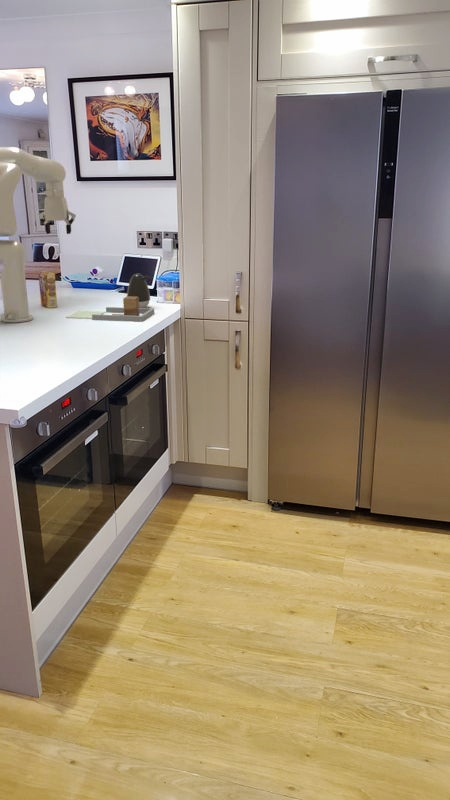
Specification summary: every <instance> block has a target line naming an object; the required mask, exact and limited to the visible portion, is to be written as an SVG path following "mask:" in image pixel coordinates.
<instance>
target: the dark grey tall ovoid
mask: <svg viewBox="0 0 450 800" xmlns="http://www.w3.org/2000/svg"><path fill="white" fill-rule="evenodd" d="M149 278H150V276H149V275H146V276H144V275H142V274H141V273H139V272H138V273H135V274H133V275H132V276H131V278H130V280H129V284H128V285H127V291H126V297H127V296H131V297H139V308H147V307H148V306H149V305H150V304H149V303H150V300H151V295H150V294H151V293H150V290H149V286H148V283H147V281H146V280H148V279H149Z"/></svg>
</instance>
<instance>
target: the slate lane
mask: <svg viewBox="0 0 450 800" xmlns="http://www.w3.org/2000/svg"><path fill="white" fill-rule="evenodd" d="M105 312H106V313H114V314H120V313H121V314H124V307H119V306H118V307H114V306H105ZM139 314H141V315H139V316H128V315H112V314H102V315H99V314H93V315H92V319H91V320H92V321H93V320H94V321H116V322H117V321H118V322H121V321H122V322H144V321H145V320H147V319H148V318H150V317H152V315H154V314H155V308H147V307H145V308H139Z"/></svg>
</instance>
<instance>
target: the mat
mask: <svg viewBox="0 0 450 800" xmlns="http://www.w3.org/2000/svg"><path fill="white" fill-rule="evenodd" d="M106 313H107V312H106V311H92V310H78V311H77V312H74V313H72V314H69V315H68V316H66V317H65V318H66V319H86V320H92V315H93V314H99V315H105V314H106Z"/></svg>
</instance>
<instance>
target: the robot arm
mask: <svg viewBox="0 0 450 800" xmlns="http://www.w3.org/2000/svg"><path fill="white" fill-rule="evenodd" d="M66 173H67V172H66V170H65V167H64V165H62V163H61V162H58V161H56V160H55V159H54V160H53V159H50V158H46V157H41V156H39V155H33V154H32V153H29V152H27V151H26V150H24V149H21V148H19V147H17V146H0V237H1V238H3V237H4V238H5V237H7V238H8V237H13V236H15V235H16V234H17V231H18V225H17V217H16V212H15V206H14V193H15V191H16V188H17V186H18V184H19V182H20V180H21V177H22V175H24V176H27V177H32V178H33V180H34V181H35V182H38V183H45V189H46V190H44V191H43V195H46V197H45V198H44V205H43V206H44V207H43V208H44V211H42V212H40V213H39V214H38V215H37V216H38V217H39V219H40V221H41V223H42V224H44V228H45V233H46V234H47V235H48V234H49V235H50V234H51V225H50V223H51V221H53V222H54V221H55V222H56V221H58V222H60V221H64V222H65V223H66V225H65V229H66V234H67V235H70V234H71V233H72V224H73V223H74V222H75V220H76V215H77V214H76V213H73V212H72V211H70V210H69V205H68V201H67V198H66V197H65V190H64V181H65V179H66V175H67V174H66ZM70 217H71V218H70ZM25 263H26V247H25V246H24V244H23V243H22V242H20V241H18V240H16V239H0V265H2V266H3V265H4V266H3V268H2V270H1V272H0V287H1V294H2V304H3V313H2V314H0V321H1V322H3V323H23V322H28V321H32V320H34V315H33V314H30V310H29V300H28V292H27V291H28V289H27V281H26V269H25V268H26V267H25V266H26V265H25Z"/></svg>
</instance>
